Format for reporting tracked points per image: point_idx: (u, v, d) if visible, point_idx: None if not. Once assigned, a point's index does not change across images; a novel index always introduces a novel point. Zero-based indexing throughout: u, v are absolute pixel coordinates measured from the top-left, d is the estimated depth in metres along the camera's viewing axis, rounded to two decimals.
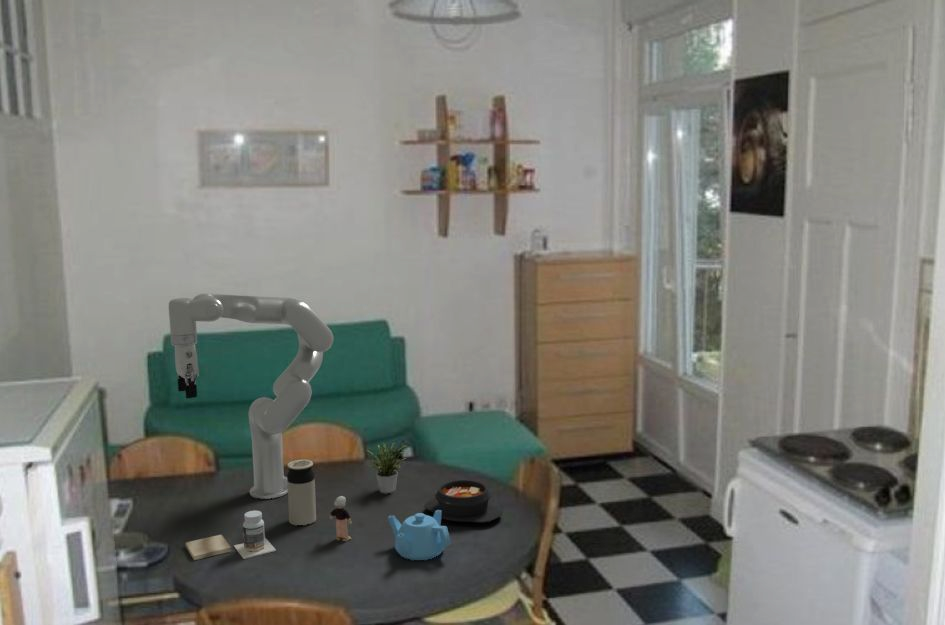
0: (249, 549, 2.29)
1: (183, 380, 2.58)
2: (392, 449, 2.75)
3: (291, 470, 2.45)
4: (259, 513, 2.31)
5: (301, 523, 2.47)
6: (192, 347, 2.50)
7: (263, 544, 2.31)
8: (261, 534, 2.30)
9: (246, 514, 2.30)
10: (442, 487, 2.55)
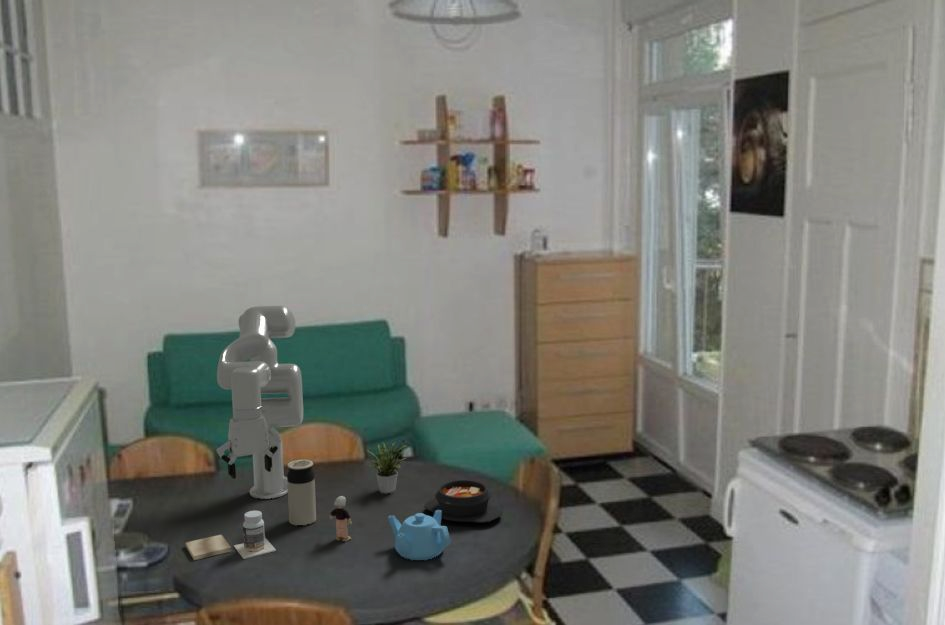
0: (249, 549, 2.29)
1: None
2: (392, 449, 2.75)
3: (291, 470, 2.45)
4: (259, 513, 2.31)
5: (301, 523, 2.47)
6: None
7: (263, 544, 2.31)
8: (261, 534, 2.30)
9: (246, 514, 2.30)
10: (442, 487, 2.55)
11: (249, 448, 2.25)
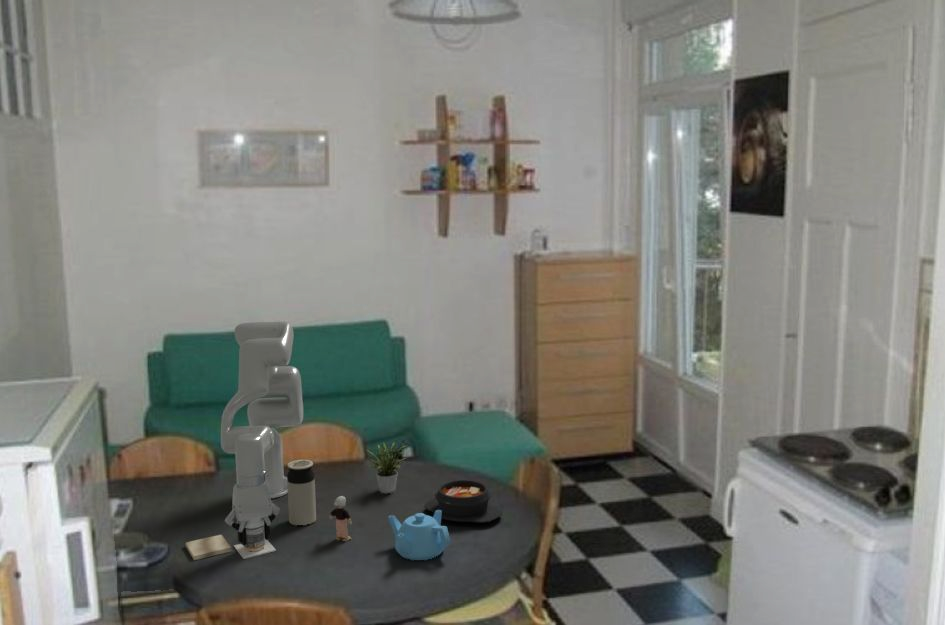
0: (249, 549, 2.29)
1: None
2: (392, 449, 2.75)
3: (291, 470, 2.45)
4: None
5: (301, 523, 2.47)
6: None
7: (263, 544, 2.31)
8: (261, 534, 2.30)
9: None
10: (442, 487, 2.55)
11: (253, 513, 2.28)
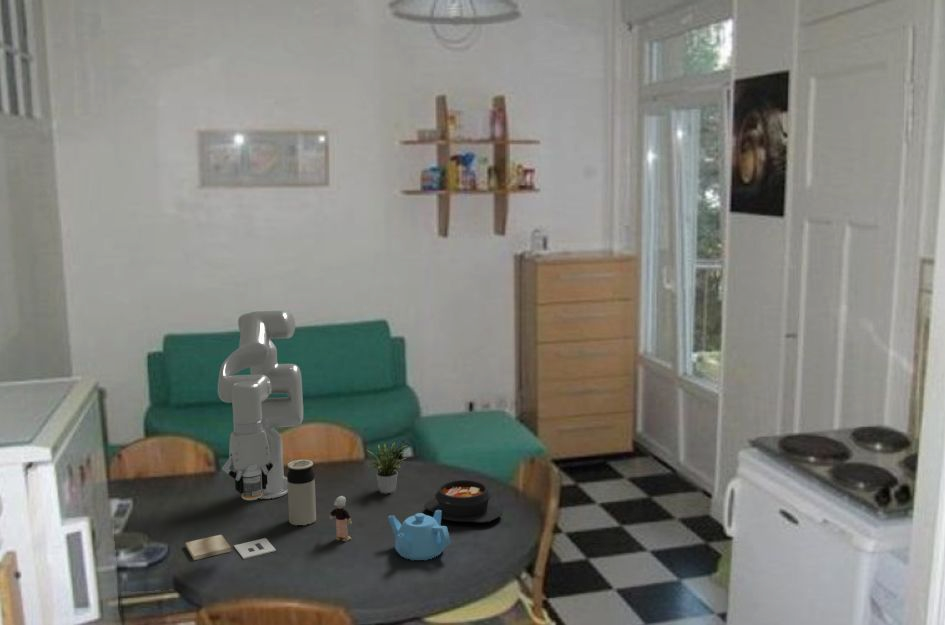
0: (246, 498, 2.27)
1: None
2: (392, 449, 2.75)
3: (291, 470, 2.45)
4: None
5: (301, 523, 2.47)
6: None
7: (260, 493, 2.29)
8: (259, 482, 2.28)
9: None
10: (442, 487, 2.55)
11: (250, 462, 2.26)
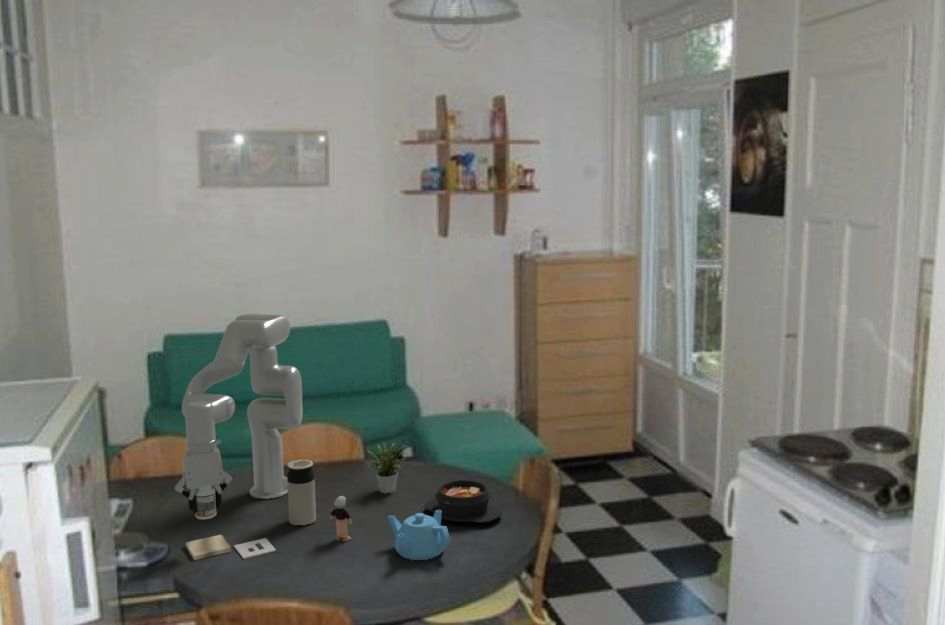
0: (200, 517, 2.28)
1: None
2: (392, 449, 2.75)
3: (291, 470, 2.45)
4: None
5: (301, 523, 2.47)
6: None
7: (214, 512, 2.30)
8: (212, 502, 2.29)
9: None
10: (442, 487, 2.55)
11: (203, 481, 2.27)
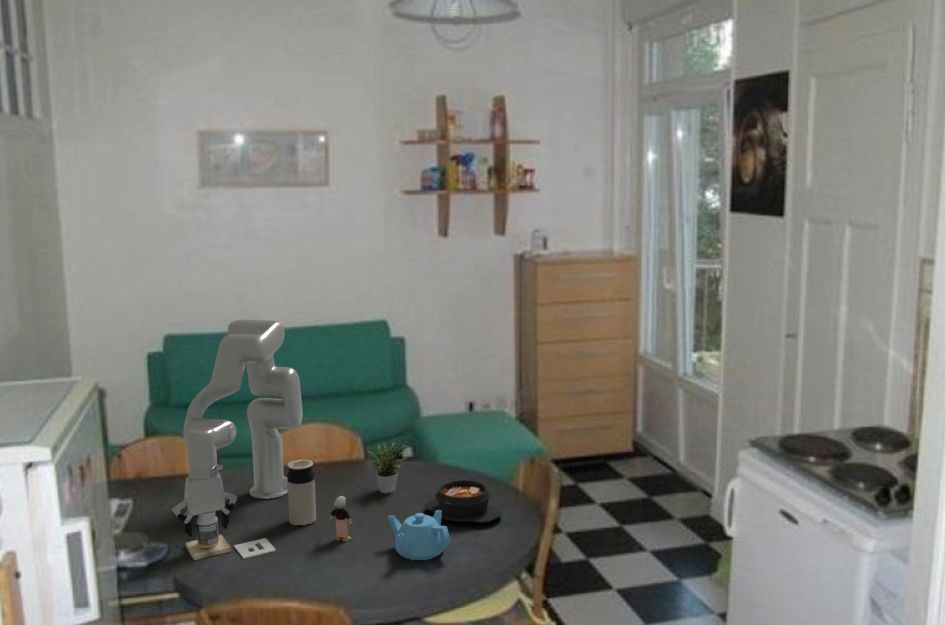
0: (202, 546, 2.30)
1: None
2: (392, 449, 2.75)
3: (291, 470, 2.45)
4: None
5: (301, 523, 2.47)
6: None
7: (217, 541, 2.31)
8: (215, 530, 2.30)
9: None
10: (442, 487, 2.55)
11: (205, 507, 2.28)
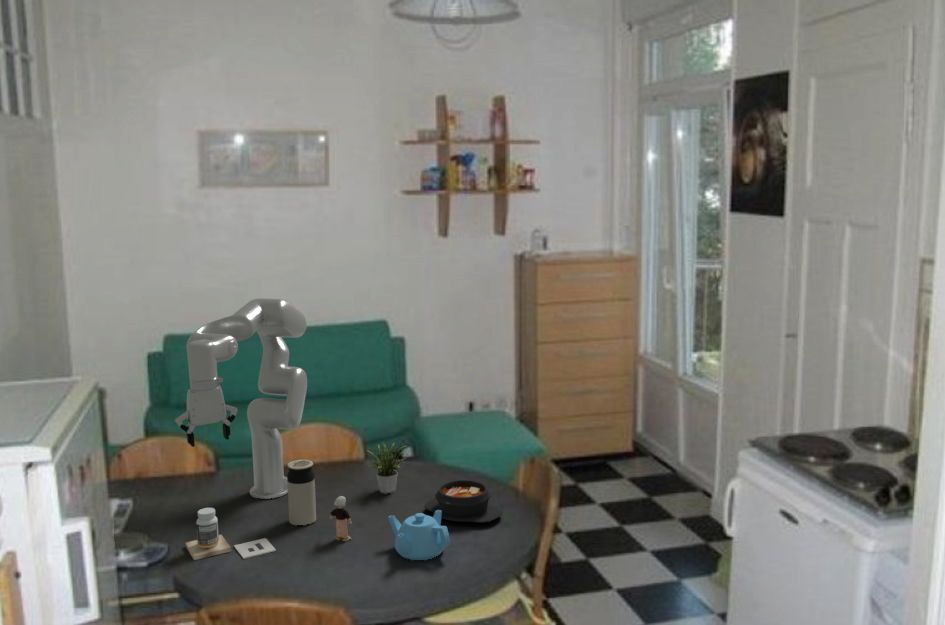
0: (202, 546, 2.30)
1: None
2: (392, 449, 2.75)
3: (291, 470, 2.45)
4: (212, 510, 2.31)
5: (301, 523, 2.47)
6: None
7: (216, 541, 2.31)
8: (215, 531, 2.30)
9: (199, 511, 2.30)
10: (442, 487, 2.55)
11: (207, 417, 2.34)
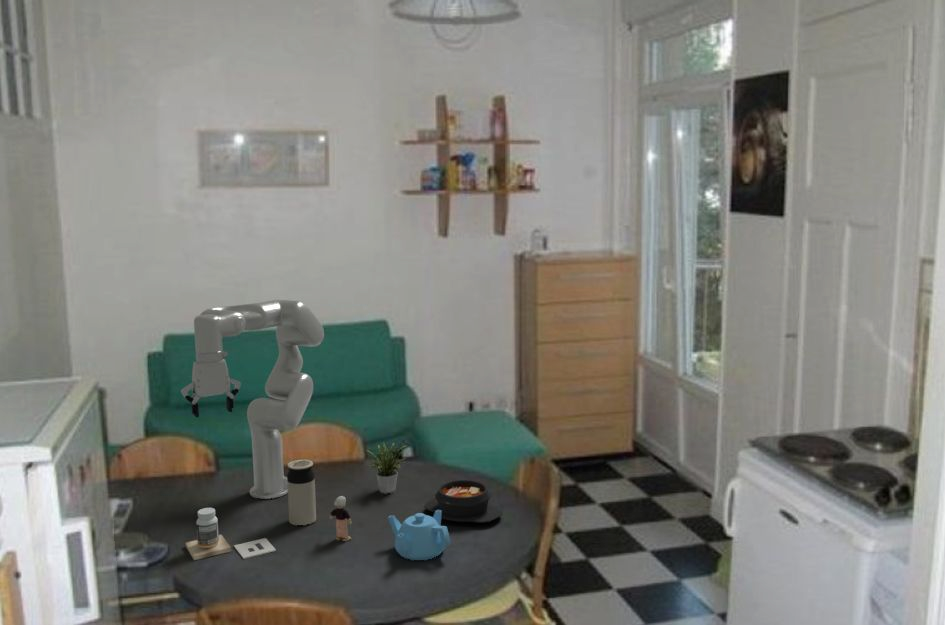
0: (202, 546, 2.30)
1: None
2: (392, 449, 2.75)
3: (291, 470, 2.45)
4: (212, 510, 2.31)
5: (301, 523, 2.47)
6: None
7: (216, 541, 2.31)
8: (215, 531, 2.30)
9: (199, 511, 2.30)
10: (442, 487, 2.55)
11: (211, 389, 2.43)
